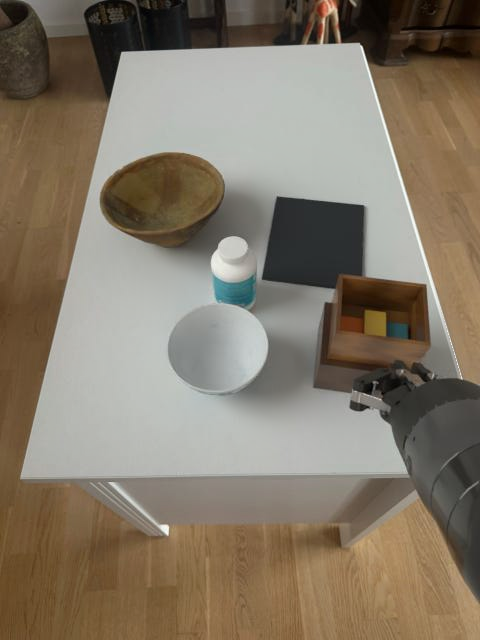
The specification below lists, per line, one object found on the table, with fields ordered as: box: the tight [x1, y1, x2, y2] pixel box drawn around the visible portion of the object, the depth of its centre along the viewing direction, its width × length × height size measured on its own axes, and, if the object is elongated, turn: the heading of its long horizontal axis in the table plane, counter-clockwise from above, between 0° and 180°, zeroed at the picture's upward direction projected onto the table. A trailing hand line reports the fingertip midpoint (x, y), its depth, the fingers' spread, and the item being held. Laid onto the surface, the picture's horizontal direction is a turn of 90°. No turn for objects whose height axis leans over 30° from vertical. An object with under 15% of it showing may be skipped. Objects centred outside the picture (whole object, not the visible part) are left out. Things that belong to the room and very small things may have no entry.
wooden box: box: [328, 274, 432, 370], centre depth 62 cm, size 12×10×7 cm
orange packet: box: [340, 316, 363, 333], centre depth 64 cm, size 4×3×1 cm, turn 80°
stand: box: [312, 301, 411, 394], centre depth 68 cm, size 14×11×8 cm
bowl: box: [99, 151, 226, 248], centre depth 84 cm, size 22×23×10 cm
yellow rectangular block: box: [363, 310, 386, 336], centre depth 63 cm, size 4×3×1 cm, turn 170°
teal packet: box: [386, 322, 408, 339], centre depth 64 cm, size 4×3×1 cm, turn 80°
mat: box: [261, 195, 365, 290], centre depth 86 cm, size 18×22×1 cm
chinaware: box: [166, 302, 270, 397], centre depth 68 cm, size 15×15×8 cm
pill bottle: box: [210, 235, 258, 311], centre depth 73 cm, size 8×7×14 cm
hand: (405, 370), depth 44 cm, fingers closed
